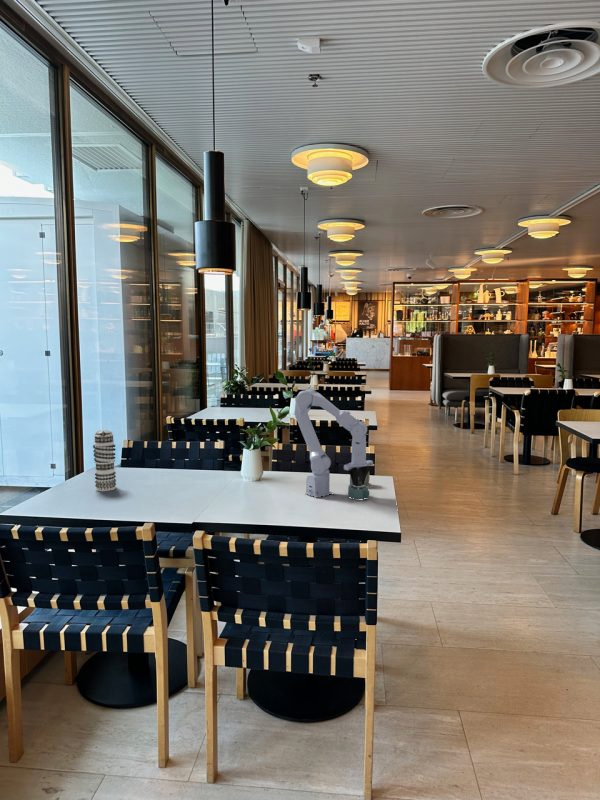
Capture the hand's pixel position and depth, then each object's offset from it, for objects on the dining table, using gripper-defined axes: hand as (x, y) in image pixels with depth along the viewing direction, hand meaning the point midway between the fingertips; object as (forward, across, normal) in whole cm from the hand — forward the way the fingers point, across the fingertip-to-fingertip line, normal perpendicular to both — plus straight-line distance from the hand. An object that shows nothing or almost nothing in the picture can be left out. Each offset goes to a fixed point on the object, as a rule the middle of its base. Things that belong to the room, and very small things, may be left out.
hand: (358, 485), depth 226 cm
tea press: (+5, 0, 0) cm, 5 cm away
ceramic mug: (+5, +14, +14) cm, 20 cm away
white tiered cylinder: (+5, -77, +76) cm, 108 cm away
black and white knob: (+4, 0, 0) cm, 4 cm away
